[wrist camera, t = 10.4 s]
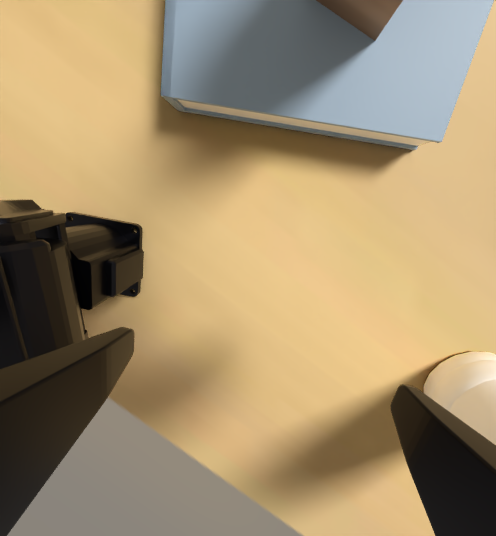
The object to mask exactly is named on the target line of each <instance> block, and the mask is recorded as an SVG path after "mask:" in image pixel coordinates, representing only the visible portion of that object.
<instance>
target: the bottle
mask: <svg viewBox="0 0 496 536" xmlns="http://www.w3.org/2000/svg"><path fill="white" fill-rule="evenodd" d="M424 394H426V395H427V396H428V397H430V398H431V399H432V400H434V401H435V402H437V403H438V404H439V405H441V406H442V407H444V408H445V409H446V410H448V411H449V412H450V413H452V414H453V415H455V416H456V417H457V418H459V419H460V420H462V421H463V422H464V423H466V424H467V425H468V426H470V427H471V428H473V429H474V430H475V431H477V432H478V433H480V434H481V435H482V436H484V437H485V438H486V439H488V440H489V441H491V442H492V443H493V444H495V445H496V354H493V353H491V352H477V351H472V352H467V353H463V354H458V355H455V356H453V357H451V358H449V359H447V360H445V361H443V362H441V363H440V364H439V365H438V366H437V367H436V368H435V369H434V370H433V371H432V372H431V373H430V374H429V376H428V378H427V380H426V382H425V384H424Z"/></svg>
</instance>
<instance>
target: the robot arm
mask: <svg viewBox="0 0 496 536" xmlns="http://www.w3.org/2000/svg"><path fill="white" fill-rule="evenodd" d="M71 216H72V217H73V221H72V219H71ZM134 228H136V229H137V233H136V232H134ZM143 255H144V252H143V250H142V228H141V226H140V225H138V224H135V223H129V222H124V221H118V220H113V219H108V218H102V217H97V216H91V215H86V214H81V213H75V212H69V213H66V214H65V213H53V211H52V210H44V209H41V208H40V207H39V206H38V205H37V204H36V203H35V202H34V201H33V200H0V536H7V535H8V533H9V532H10V531H11V529H12V528H13V527H14V525H15V524H16V523H17V521H18V520H19V518H20V517H21V516H22V514H23V513H24V512H25V510H26V509H27V507H28V506H29V505H30V503H31V502H32V501H33V499H34V498H35V497H36V495H37V493H38V492H39V491H40V489H41V488H42V487H43V486H44V484H45V483H46V481H47V480H48V479H49V477H50V476H51V474H52V473H53V472H54V470H55V469H56V468H57V466H58V465H59V464H60V462H61V461H62V459H63V458H64V457H65V455H66V454H67V453H68V451H69V450H70V448H71V447H72V446H73V444H74V443H75V442H76V440H77V439H78V438H79V436H80V435H81V433H82V432H83V431H84V429H85V428H86V427H87V425H88V424H89V423H90V421H91V420H92V418H93V417H94V416H95V414H96V413H97V412H98V410H99V409H100V407H101V406H102V405H103V403H104V402H105V400H106V399H107V397H108V396H109V394H110V393H111V391H112V389H113V388H114V386H115V384H116V383H117V381H118V379H119V377H120V376H121V374H122V372H123V371H124V369H125V367H126V366H127V364H128V362H129V360H130V359H131V357H132V355H133V351H134V331H133V330H132V329H129V328H124V327H120V328H117V329H114V330H111V331H108V332H106V333H103V334H100V335H97V336H94V337H91V338H88V333H87V330H85V326H84V321H83V316H82V311H81V309H87V310H90V309H92V308H94V307H95V306H97V305H98V304H100V303H101V302H103V301H104V300H106V299H107V298H109V297H115V296H117V295H118V294H122V295H127V296H132V297H135V296H137V295H138V294H139V293H140V283H141V279H142V278H143ZM132 289H134V290H135V292H133V291H132ZM391 413H392V416H393V419H394V423H395V426H396V429H397V433H398V436H399V439H400V443H401V446H402V449H403V453H404V456H405V459H406V462H407V465H408V467H409V470H410V473H411V475H412V478H413V480H414V483H415V485H416V488H417V490H418V493H419V495H420V498H421V500H422V503H423V505H424V508H425V511H426V513H427V516H428V518H429V521H430V523H431V526H432V528H433V531H434V533H435V536H496V445H495V444H493V443H492V442H491V441H489V440H488V439H486V438H485V437H484V436H482V435H481V434H480V433H478V432H477V431H475V430H474V429H473V428H471V427H470V426H468V425H467V424H466V423H464V422H463V421H462V420H460V419H459V418H457V417H456V416H455V415H453V414H452V413H450V412H449V411H448V410H446V409H445V408H444V407H442V406H441V405H439V404H438V403H437V402H435V401H434V400H432V399H431V398H430V397H428V396H427V395H426V394H424V393H423V392H421V391H420V390H419V389H417V388H416V387H413V386H409V385H404V384H402V385H400V386H399V387H398V389H397V391H396V393H395V396H394V398H393V400H392V402H391Z"/></svg>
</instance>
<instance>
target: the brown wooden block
mask: <svg viewBox="0 0 496 536" xmlns="http://www.w3.org/2000/svg"><path fill="white" fill-rule="evenodd" d="M316 1H318V2H319V3H321V4H322V5H323V6H325V7H326V8H328V9H329V10H331V11H332V12H334V13H335V14H336V15H338V16H339V17H341V18H342V19H344V20H345V21H347V22H348V23H350V24H351V25H352V26H354V27H355V28H357V29H358V30H360V31H361V32H363V33H364V34H366V35H367V36H368V37H370V38H371V39H373V40H374V41H376V39H377V38H378V36H379V35H380V33H381V32H382V30H383V29H384V27H385V26H386V25H387V23H388V22H389V20H390V19H391V17H392V16H393V14H394V13H395V11H396V10H397V8H398V7H399V5H400V4H401V3H402V1H403V0H316Z"/></svg>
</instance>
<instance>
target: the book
mask: <svg viewBox="0 0 496 536" xmlns="http://www.w3.org/2000/svg"><path fill="white" fill-rule="evenodd" d="M493 1H494V0H403V1H402V3H401V4H400V5H399V7H398V8H397V10H396V11H395V13H394V14H393V16H392V17H391V19H390V20H389V22H388V23H387V25H386V26H385V27H384V29H383V30H382V32H381V33H380V35H379V36H378V38H377V39H376V41H374V40H373V39H371V38H370V37H368V36H367V35H366V34H364V33H363V32H361V31H360V30H358V29H357V28H355V27H354V26H352V25H351V24H350V23H348V22H347V21H345V20H344V19H342V18H341V17H339V16H338V15H336V14H335V13H334V12H332V11H331V10H329V9H328V8H326V7H325V6H323V5H322V4H321V3H319V2H318V1H316V0H165V20H164V40H163V59H162V79H161V96H162V97H163V98H164V99H165V100H166V101H168V102H169V103H170V104H171V105H172V106H173V107H174V108H176V109H177V110H178V111H182V112H188V113H194V114H200V115H206V116H212V117H218V118H224V119H230V120H236V121H242V122H248V123H254V124H260V125H266V126H272V127H278V128H284V129H290V130H296V131H302V132H308V133H314V134H320V135H326V136H332V137H338V138H344V139H350V140H356V141H362V142H368V143H374V144H380V145H386V146H392V147H398V148H404V149H410V150H416V149H417V147H418V146H419V145H423V144H426V143H429V142H437V143H439V142H442V140H443V137H444V134H445V131H446V129H447V126H448V123H449V121H450V118H451V115H452V112H453V110H454V107H455V104H456V102H457V99H458V96H459V94H460V91H461V88H462V85H463V83H464V80H465V77H466V75H467V72H468V69H469V66H470V64H471V61H472V58H473V56H474V53H475V50H476V47H477V45H478V42H479V39H480V37H481V34H482V31H483V28H484V26H485V23H486V20H487V18H488V15H489V12H490V9H491V7H492V4H493Z"/></svg>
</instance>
